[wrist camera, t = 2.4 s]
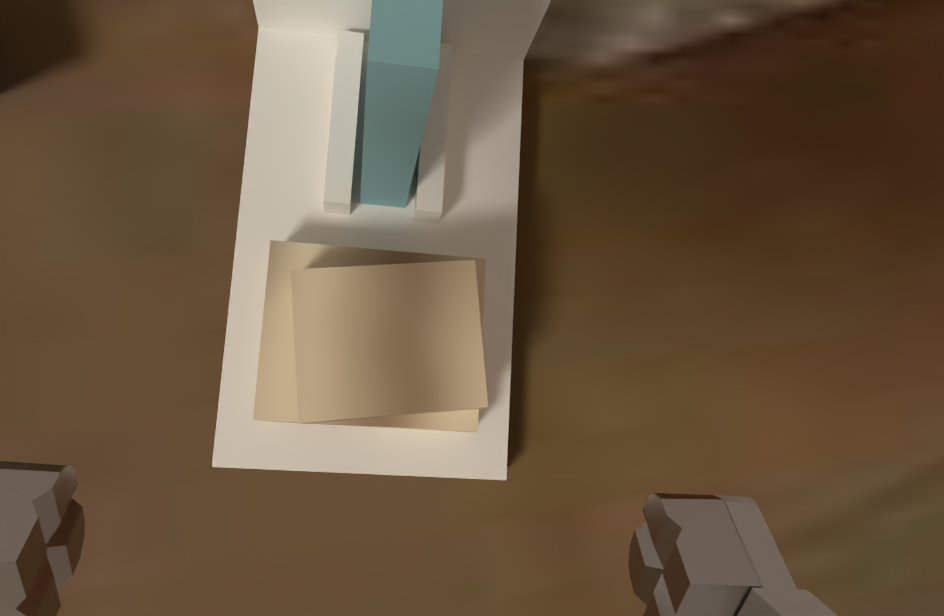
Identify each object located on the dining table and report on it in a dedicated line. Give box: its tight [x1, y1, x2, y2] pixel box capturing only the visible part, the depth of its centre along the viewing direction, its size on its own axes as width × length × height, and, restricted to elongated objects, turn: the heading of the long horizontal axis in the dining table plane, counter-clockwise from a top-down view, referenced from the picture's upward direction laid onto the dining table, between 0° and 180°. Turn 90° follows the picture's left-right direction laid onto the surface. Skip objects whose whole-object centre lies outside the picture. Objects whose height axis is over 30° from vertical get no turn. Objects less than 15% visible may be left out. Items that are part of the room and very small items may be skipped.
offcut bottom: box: [253, 240, 486, 432], centre depth 30 cm, size 8×6×2 cm
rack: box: [212, 0, 551, 480], centre depth 25 cm, size 11×19×15 cm, turn 177°
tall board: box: [360, 0, 443, 208], centre depth 26 cm, size 2×6×12 cm, turn 177°
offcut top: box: [291, 260, 488, 424], centre depth 28 cm, size 6×5×2 cm
